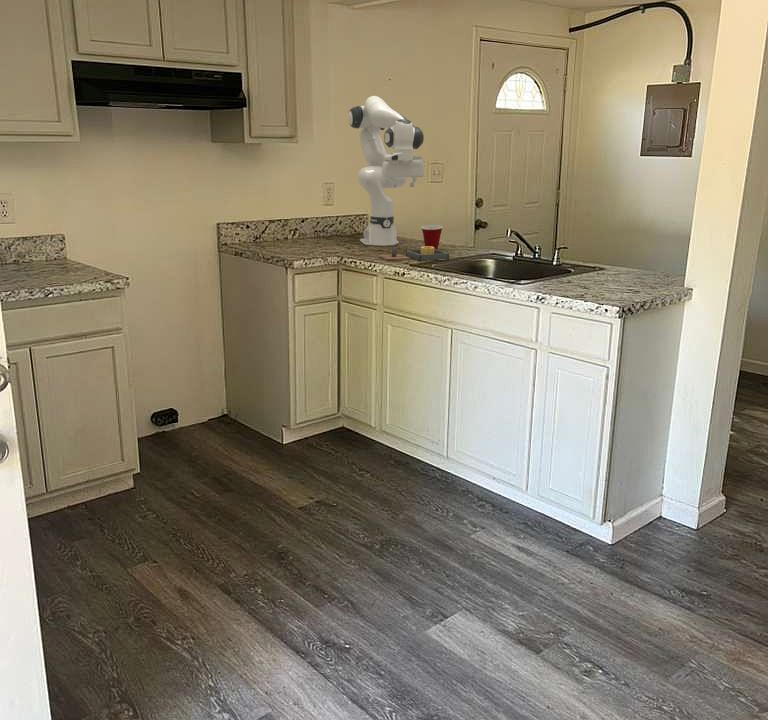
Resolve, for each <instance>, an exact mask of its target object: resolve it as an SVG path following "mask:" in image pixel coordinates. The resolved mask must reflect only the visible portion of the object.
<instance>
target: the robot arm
mask: <svg viewBox="0 0 768 720" xmlns="http://www.w3.org/2000/svg"><path fill="white" fill-rule="evenodd" d="M347 120H348V123H349V125H350V127H351V128H353V129H361V131H360V133H359V141H360V146H361V149H362V153H363V156H364V159H365V162H366V163H367V164H368V165H369V166H365V167H362V168H360V170H359V171H358V175H357V180H358V183H359V185H360V186H361V187H362V189H364V190H365V192H367V194H368V196H369V198H370V199H369V200H370V204H371V206H370V208H371V216H369V217H370V218H369V224H368V225H367V227H366V228H365V230H362V235H363V237H362V238H360V239H359V242H361V243H362V244H363V245H366V246H383V247H385V246H391V245H397V244H399V243H400V242H399V240H397V239H398V238H397V227H396V226H395V225H394V223H395V217H394V201H393V199H392V198H391V197H389V196H388V195H386V194H385V192H384V189H397V188H400V187H404V185H405V184H406V183H407V179H408V178H411V182H410V183H409V187H410V188H415V183H416V181H417V180H418V178H423V176H424V175H425V168H424V164H425V163H424V158H423V157H422V156H414V150H418V149H420V147H422V145H423V143H424V140H425V137H424V132H423V130H422V129H421V128H420V127H418V126H415V125H414V124H413V122H412V121H411V120H410V119H408V118H406V117H405V116H404V115H402V114H401V113H399V112H397V111H395V110H394V109H393V108H391V107H390V106H389V105H388V104H387V102H386V101H384V99H382V97H379V96H377V95H371V96H369V97H368V98H367V99H366V100H365V103H364V105H361V106H360V105H357V106H353V107H351V108H350V109H349V110H348V115H347ZM385 129H386V130H385ZM380 130H381V131H384V130H385V132H384V135H383V136H384V138H383V139H384V143H383V140H382V138H381V135H380ZM384 144H385V145H386V147H388V148H389V149H393V152H391V153H387V151H386V148H385V145H384Z"/></svg>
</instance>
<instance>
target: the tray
mask: <svg viewBox="0 0 768 720" xmlns="http://www.w3.org/2000/svg"><path fill="white" fill-rule="evenodd" d="M420 252H421V248H420V249H406V250H405V256H407V257H409V258H410V260H414V261H416V260H417V261H416V262H419V261H425V262H428V261H427V260H439V259H449V260H450V253H449V252H445V251H444V250H443V251H442V250H440V249H438V250H437V249H434V254H426V255H420Z"/></svg>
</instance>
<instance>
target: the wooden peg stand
mask: <svg viewBox="0 0 768 720" xmlns="http://www.w3.org/2000/svg"><path fill="white" fill-rule="evenodd" d="M390 246H391V254H378V256H377V257H378V259H380V260H381V259H382V260H384V261H386V262H399V261H410V260H411V258H409V257H407V256H406V255H404V254H400V253H397V248H398V245H397V244H395V245H390Z"/></svg>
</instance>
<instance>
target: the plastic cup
mask: <svg viewBox="0 0 768 720" xmlns="http://www.w3.org/2000/svg"><path fill="white" fill-rule="evenodd" d="M443 228H444V226H442V225H439V224H432V225H431V224H430V225H429V224H428V225H424V226H421V227H420V229H421V230H422V231H421V232H422V236H423V242H424V246H431V247H434V249H437V250H439V244H440V240H441V235H442V231H443Z"/></svg>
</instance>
